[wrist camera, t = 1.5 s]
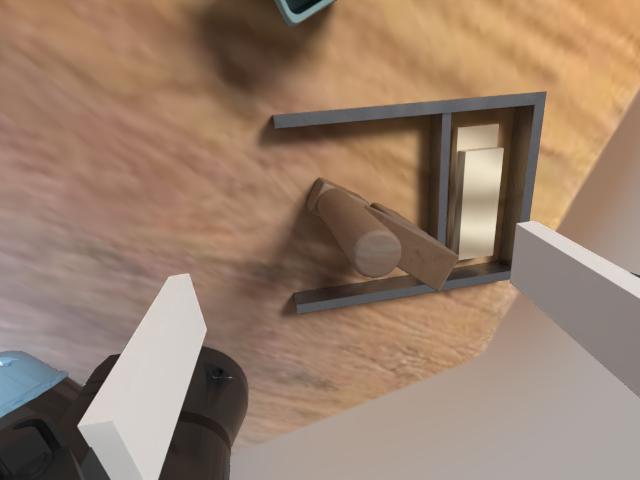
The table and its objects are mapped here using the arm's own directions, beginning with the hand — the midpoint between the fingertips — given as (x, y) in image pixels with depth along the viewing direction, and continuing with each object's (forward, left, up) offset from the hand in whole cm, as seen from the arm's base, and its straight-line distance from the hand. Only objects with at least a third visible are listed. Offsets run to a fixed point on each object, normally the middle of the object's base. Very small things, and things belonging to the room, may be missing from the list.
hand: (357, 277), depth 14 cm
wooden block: (-5, -7, -27) cm, 28 cm away
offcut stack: (-5, -21, -27) cm, 35 cm away
